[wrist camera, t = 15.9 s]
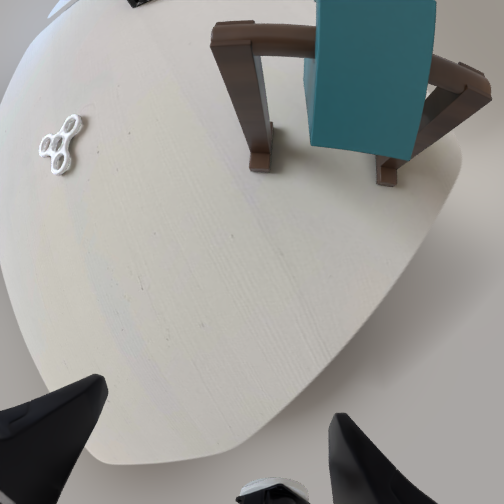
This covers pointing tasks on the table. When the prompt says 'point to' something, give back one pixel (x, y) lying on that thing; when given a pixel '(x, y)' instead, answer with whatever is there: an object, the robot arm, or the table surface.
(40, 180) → the table surface
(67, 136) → the fidget spinner
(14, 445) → the robot arm
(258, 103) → the rack
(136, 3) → the multiport hub
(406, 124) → the teal angular block
